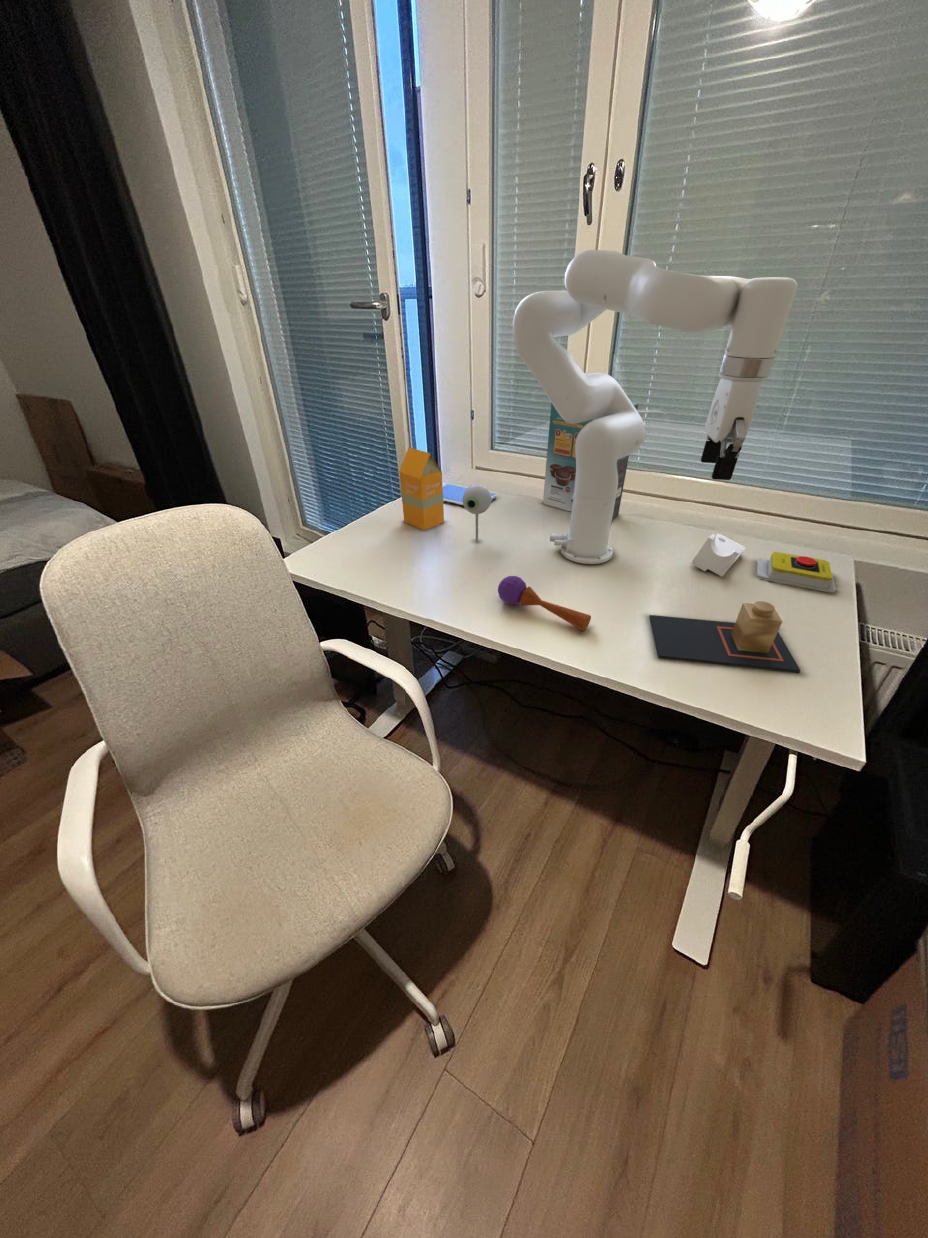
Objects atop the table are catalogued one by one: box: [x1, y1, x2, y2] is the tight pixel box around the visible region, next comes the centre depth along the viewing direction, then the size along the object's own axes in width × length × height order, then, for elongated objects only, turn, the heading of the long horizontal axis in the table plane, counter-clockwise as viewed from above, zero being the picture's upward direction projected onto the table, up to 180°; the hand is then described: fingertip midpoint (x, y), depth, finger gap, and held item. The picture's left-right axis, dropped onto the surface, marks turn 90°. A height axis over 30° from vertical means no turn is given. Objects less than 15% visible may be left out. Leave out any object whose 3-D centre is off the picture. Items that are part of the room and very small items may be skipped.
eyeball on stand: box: [462, 484, 492, 543], centre depth 121 cm, size 7×7×15 cm
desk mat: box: [649, 614, 801, 674], centre depth 89 cm, size 23×13×1 cm, turn 79°
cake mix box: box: [542, 402, 639, 520], centre depth 134 cm, size 22×6×30 cm, turn 49°
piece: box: [731, 600, 783, 653], centre depth 85 cm, size 5×5×8 cm
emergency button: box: [756, 551, 837, 594], centre depth 107 cm, size 9×4×15 cm
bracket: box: [691, 532, 747, 577], centre depth 112 cm, size 13×7×8 cm, turn 138°
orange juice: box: [398, 446, 445, 531], centre depth 130 cm, size 8×9×20 cm
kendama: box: [497, 575, 592, 632], centre depth 96 cm, size 6×6×20 cm
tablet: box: [443, 483, 498, 506], centre depth 151 cm, size 19×13×1 cm, turn 57°
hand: (714, 470), depth 90 cm, fingers open, 9 cm apart
